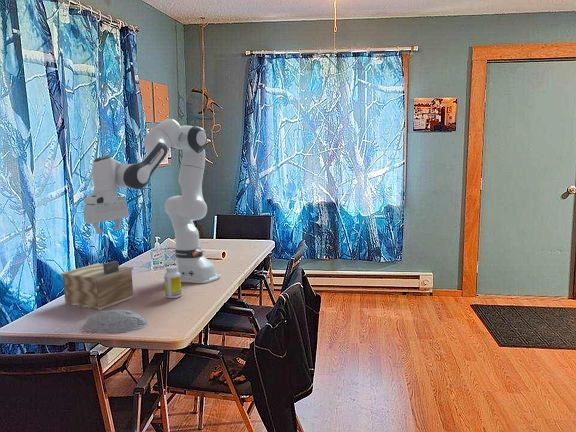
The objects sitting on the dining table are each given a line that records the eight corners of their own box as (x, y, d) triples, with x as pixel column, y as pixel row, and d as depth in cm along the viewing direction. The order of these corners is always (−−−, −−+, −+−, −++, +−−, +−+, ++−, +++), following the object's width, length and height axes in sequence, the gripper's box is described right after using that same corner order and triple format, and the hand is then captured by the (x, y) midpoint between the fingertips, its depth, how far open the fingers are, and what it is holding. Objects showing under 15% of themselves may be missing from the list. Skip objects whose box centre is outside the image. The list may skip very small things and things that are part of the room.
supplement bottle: (184, 294, 227) (182, 265, 225) (176, 299, 221) (174, 269, 219) (170, 293, 229) (169, 264, 228) (162, 298, 223) (160, 268, 221)
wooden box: (133, 297, 225) (131, 269, 224) (100, 310, 210) (97, 280, 208) (99, 292, 235) (97, 265, 233) (65, 303, 219) (62, 275, 217)
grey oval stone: (138, 333, 182) (137, 313, 182) (72, 334, 187) (70, 315, 186) (157, 322, 197) (156, 304, 197) (95, 323, 202) (94, 306, 202)
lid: (133, 269, 224) (132, 258, 223) (97, 280, 207) (96, 268, 207) (97, 265, 234) (96, 254, 233) (60, 275, 217) (59, 263, 217)
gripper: (119, 194, 223) (121, 227, 225) (79, 199, 205) (82, 235, 207) (130, 195, 220) (132, 228, 222) (91, 200, 202) (94, 236, 204)
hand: (108, 231), depth 214 cm, fingers open, 8 cm apart
